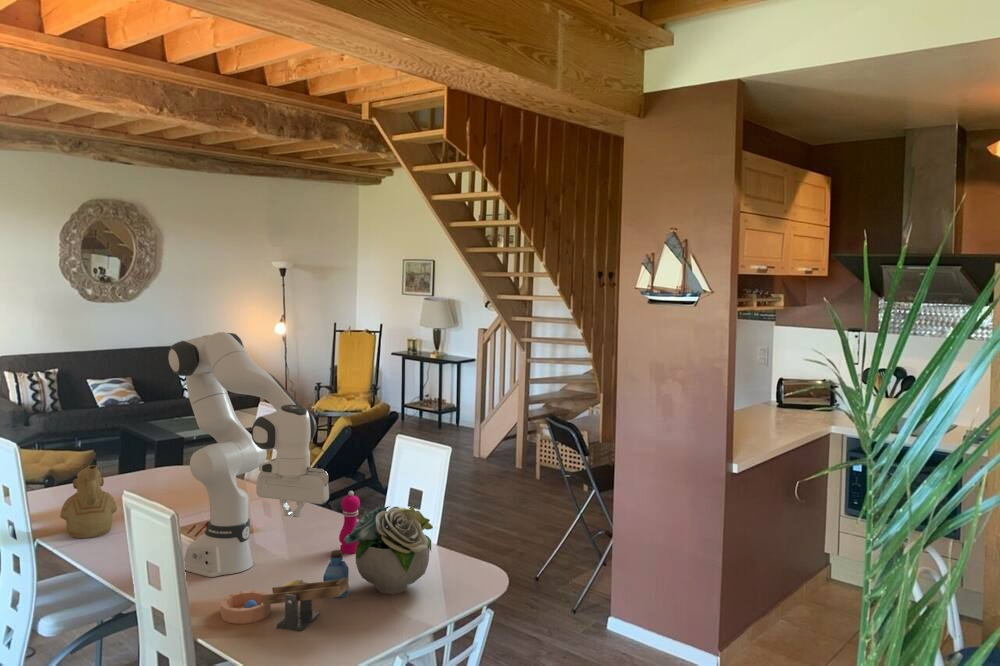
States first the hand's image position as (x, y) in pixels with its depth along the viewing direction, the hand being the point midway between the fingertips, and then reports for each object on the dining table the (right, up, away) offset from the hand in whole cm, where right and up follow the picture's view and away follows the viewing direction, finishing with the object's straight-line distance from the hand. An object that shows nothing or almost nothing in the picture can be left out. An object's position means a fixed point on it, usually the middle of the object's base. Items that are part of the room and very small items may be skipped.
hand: (292, 516), depth 201 cm
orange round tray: (-11, -25, -4) cm, 27 cm away
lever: (+7, -18, -5) cm, 20 cm away
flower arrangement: (+25, -25, +15) cm, 38 cm away
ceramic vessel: (-85, -19, +54) cm, 102 cm away
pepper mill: (+7, -22, +44) cm, 50 cm away
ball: (-10, -23, -5) cm, 25 cm away
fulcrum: (+4, -25, -8) cm, 27 cm away
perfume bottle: (+10, -25, +10) cm, 28 cm away
